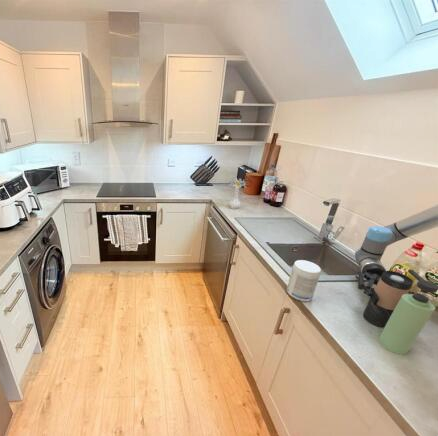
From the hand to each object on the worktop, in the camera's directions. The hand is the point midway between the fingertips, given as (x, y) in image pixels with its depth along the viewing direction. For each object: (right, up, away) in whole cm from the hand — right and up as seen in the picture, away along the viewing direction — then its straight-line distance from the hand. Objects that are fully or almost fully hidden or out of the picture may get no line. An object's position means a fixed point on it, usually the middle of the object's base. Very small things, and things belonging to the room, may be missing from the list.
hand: (391, 306), depth 81 cm
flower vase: (-11, +39, +118) cm, 125 cm away
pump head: (0, +9, -8) cm, 12 cm away
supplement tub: (-18, -3, +21) cm, 28 cm away
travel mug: (+2, -8, +8) cm, 12 cm away
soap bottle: (-1, -13, -1) cm, 13 cm away
